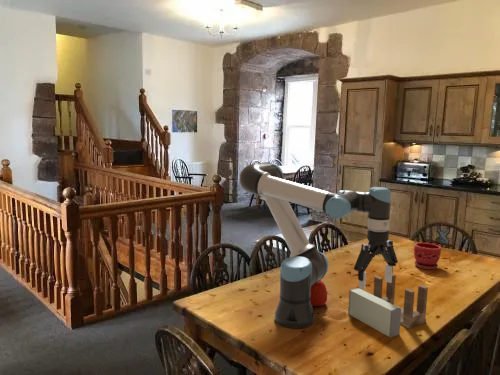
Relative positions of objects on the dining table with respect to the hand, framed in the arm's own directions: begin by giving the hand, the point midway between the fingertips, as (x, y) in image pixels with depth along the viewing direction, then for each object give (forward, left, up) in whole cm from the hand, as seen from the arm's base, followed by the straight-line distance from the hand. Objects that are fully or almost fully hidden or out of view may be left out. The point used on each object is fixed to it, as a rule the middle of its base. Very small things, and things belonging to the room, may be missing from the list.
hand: (375, 285), depth 152 cm
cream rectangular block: (0, 0, -15) cm, 15 cm away
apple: (-8, +25, -16) cm, 31 cm away
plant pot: (+75, +33, -16) cm, 83 cm away
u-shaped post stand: (+14, 0, -15) cm, 21 cm away
